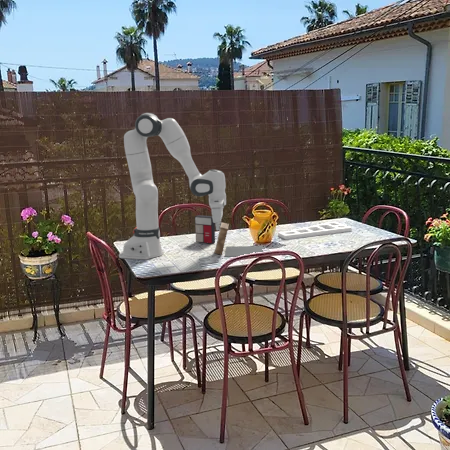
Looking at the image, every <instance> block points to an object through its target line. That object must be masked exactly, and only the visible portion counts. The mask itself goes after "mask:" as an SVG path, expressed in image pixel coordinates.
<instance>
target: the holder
mask: <svg viewBox="0 0 450 450" xmlns="http://www.w3.org/2000/svg"><path fill="white" fill-rule="evenodd" d="M352 229H353V228H352V226H348V225H347V224H343V223H341V222H337V221H329V222H323V223H320V224H313V225H311V226H303V227H300V228H297V229H295V228H294V229H290V230H288V231H287V230H285V231H278V232H277V236H278V237H279V238H281V239H283V240H292V239H299V238H309V237H315V236H323V235H332V234H333V235H334V234H340V233H347V232H352V231H353V230H352Z"/></svg>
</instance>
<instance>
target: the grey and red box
mask: <svg viewBox="0 0 450 450" xmlns="http://www.w3.org/2000/svg"><path fill="white" fill-rule="evenodd" d="M194 226H195V227H194V229H195V242H196V243H201V244H209V245H213V244H214V243H216V225H215V223H213V219H212V215H211V216H210V215H203V214H201V215H199V214H197V215H196V216H195V217H194Z"/></svg>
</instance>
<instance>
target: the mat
mask: <svg viewBox="0 0 450 450" xmlns="http://www.w3.org/2000/svg"><path fill="white" fill-rule="evenodd" d="M263 246H264V247H263ZM265 248H266V246H265V245H258V246H257V245H256V246H255V245H250V246H249V245H248V246H247V245H246V246H244V245H243V246H242V245H240V246H232V245H231V246H226V247H225V251H224V252H225V254H224V258H225V257H226V258H227V257H229V258H231V257H234V258H235V257H236V256H240V255H244V254H250V253H253V252H255V253H256V252H263V250H262V249H265Z"/></svg>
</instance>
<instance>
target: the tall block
mask: <svg viewBox="0 0 450 450" xmlns="http://www.w3.org/2000/svg"><path fill="white" fill-rule="evenodd" d="M229 225H230V223H226V222H221V226H220V229H219V230H218V231H219V232H218V235H217V240H216V244H215V250H214V254H217V255H221V256H222V255H223V252H224V249H225V244H226V239H227V235H228V231H229Z"/></svg>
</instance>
